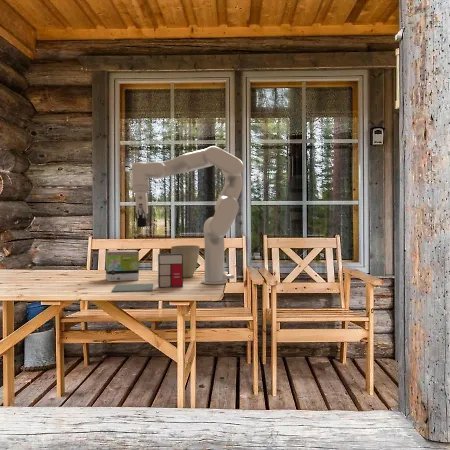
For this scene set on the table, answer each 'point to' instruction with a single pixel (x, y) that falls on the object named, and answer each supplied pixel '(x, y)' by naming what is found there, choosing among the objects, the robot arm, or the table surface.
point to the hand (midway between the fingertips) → (142, 226)
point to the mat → (133, 288)
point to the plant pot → (187, 257)
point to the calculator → (170, 270)
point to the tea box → (122, 265)
